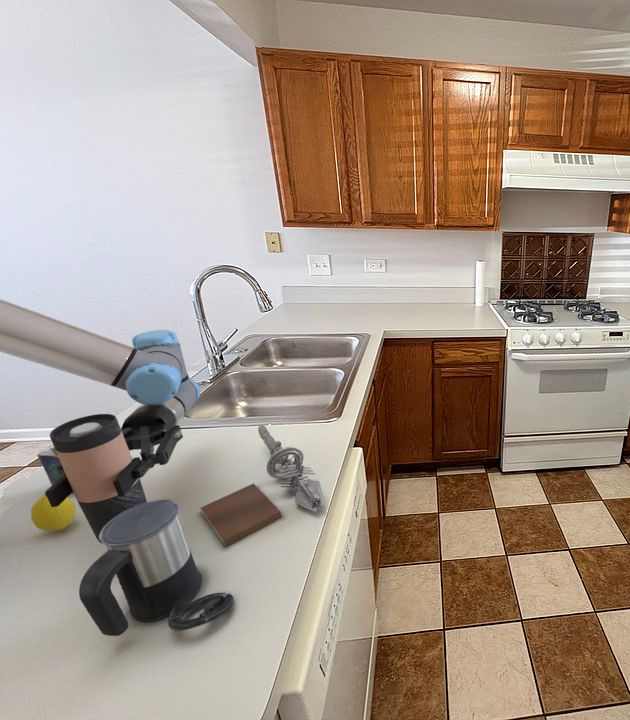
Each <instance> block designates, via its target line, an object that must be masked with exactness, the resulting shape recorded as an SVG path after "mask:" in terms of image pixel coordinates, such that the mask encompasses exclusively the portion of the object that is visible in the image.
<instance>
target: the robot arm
mask: <svg viewBox="0 0 630 720" xmlns="http://www.w3.org/2000/svg"><path fill="white" fill-rule="evenodd" d="M131 343H132V346H131V345H127V344H125V343H123V342H119V341H117V340H114V339H111V338H110V337H109V338H108V337H106V336H104V335H100V334H97V333H95V332H92V331H89V330H86V329H84V328H81V327H78V326H76V325H73V324H71V323H68V322H65V321H62V320H59V319H57V318H53V317H51V316H48V315H46V314H43V313H40V312H38V311H36V310H35V311H34V310H32V309H29V308H26V307H24V306H21V305H18V304H16V303H14V302H10V301H7V300H4V299H2V298H0V353H3V354H6V355H9V356H13V357H15V358H19V359H23V360H25V361H29V362H32V363H35V364H39V365H42V366H45V367H49V368H52V369H55V370H59V371H61V372H64V373H68V374H72V375H75V376H78V377H82V378H84V379H88V380H91V381H94V382H97V383H101V384H104V385H108V386H111V387H114V388H117V389H120V390H123V391H126V393H127V394H128V396H129V397H130V398H131V399H132V400H133V401H135V402H137V403H139V404H140V405H139V406H137V408H136V409H134V411H132V412H131V413H130V414H129V415H128V416H127V417H126V418H125V419H124V421H123V423H122V425H121V427H120V428H121V431H122V433H123V436H124V439H125V441H126V444H127V446H128V449H129V452H131V451H135V450H140V452H139V455H140V456H136V457H132V459H133V460H132V461H131V462H130V463H129V464H128V465H127V466H126V467H125V469H124V470H123V471H122V472H121V473H120V474H119V475H118V477H117V478H116V479H115V480H114V481H113V484H114V486H115V489H116V491H117V494H118V496H124V495H125V494H126V493H127V492H128V490H129V489H130V488H131V487H132V485H133V484H134V483H135V482H136V480H137V479H138V478H140V479H141V478H143V477H144V476H145V475H146V474H147V473H148V471H149V470H150V469H152V468H154V467H155V465H158V464H159V466H165V465H166V464H168V463H169V461H170V459H171V457H172V455H173V452H174V451H175V448H176V447H177V443H179V442H180V441H181V440H182V439H183V438H184V436H183V432H182V429H181V426H180V425H179V424H180V423H181V422H182V420H183V419H184V418H185V417H186V416H187V414H188V413H189V412H190V411H191V410H192V409H193V408H194V407H195V406H196V404H197V402H198V400H199V398H200V397H201V388H200V386H199V384H198V383H197V382H196V381H195V380H194V379H192V378H190V376H189V374H188V371H187V366H186V364H185V360H184V356H183V352H182V348H181V346H182V345H181V343H180V341H179V338H178V336H177V334H176V332H175V331H173V330H170V329H157V330H150V331H149V330H148V331H144V332H141V333H138V334H136V335H134V336H133V337H132V338H131ZM155 446H157V448H156V450H155ZM55 467H56V469H57V472H58V474H59V477H58V478H57V479H56V480H55V481H54V484H53V485H51V486H50V487H49V488H48V489H46V491H44V495H46V496H47V498H48V500H49V503H50V505H51V507H57V506H59V505H60V504H61V503H62V502H63V501H64V500H65V499H66V498H67V497H69V496H70V495H71V494H73V493H74V492H73V490H72V487H71V485H70V483H69V480H68V478H67V476H66V473H65V471H64V469H63V466H62V464H61V462H60V463H59V464H57V465H56V466H55Z"/></svg>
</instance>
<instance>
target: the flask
mask: <svg viewBox="0 0 630 720" xmlns="http://www.w3.org/2000/svg"><path fill="white" fill-rule="evenodd" d="M36 456H37V457H38V459H39V461H40V464H41V466H42V468H43V469H44V473H46V476H47V478H48V480H49V484H50V485H51V486H52V485H53V484H54V481H55V480H56V479H57V478H58V477H59V474H58V472H57V469H56V467H55V466H56V465H57V464H59V463H60V459H59V457H58V455H57V452H56V450H55V448H54V446H52V447H49V449H45V450H42V451H40V452H39V453H38V454H37V455H36Z"/></svg>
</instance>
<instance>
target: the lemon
mask: <svg viewBox="0 0 630 720" xmlns="http://www.w3.org/2000/svg"><path fill="white" fill-rule="evenodd" d="M76 513H77V509H76V505H75V503H74V502H73V500H72V499H71V498H70V497H69V496H68V497H67V498H66V499H65V500H64V501H63V502H62V503H61V504H60V505H59V506H57V507H51V505H50V503H49V500H48V498H47V496H46V494H44V495H43V496H42V497H40V498H39V499H38V500H36V501H35V502H34V504H33V505H32V506H31V510H30V516H31V521H32V523H33V525H35V527H37V528H38V529H39V530H42V531H44V532H55V531H63V530H64V529H65V528H66V527H67V526H68V525H69V524H71V523H72V522H73V521H74V518H75V517H76Z"/></svg>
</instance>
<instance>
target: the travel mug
mask: <svg viewBox="0 0 630 720" xmlns="http://www.w3.org/2000/svg"><path fill="white" fill-rule="evenodd" d="M121 428H122V427H121V426H120V423H119V421H118V418H117V417H116V415H114V414H111V413H97V414H91V415H85V416H82V417H79V418H75V419H72V420H69V421H67V422H64V423H62V424H60V425H58V426H56V427H55V428H53V429H52V430H51V431H50V433H49V438H50V441H51V443H52V445H53V447H54V448H55V450H56V452H57V455H58V457H59V459H60V462H61V464H62V466H63V469H64V471H65V473H66V476H67V478H68V480H69V483H70V485H71V487H72V490H73V492H72V493H73V494H74V497H75V499H76V501H77V503H78V505H79V507H80V509H81V511H82V513H83V515H84V517H85V519H86V521H87V522H88V525H89V527H90V528H91V531H92V533H93V534H94V536H95V538H96V540H97V541H98V542H99V543H100V544H102V545H104V544H103V543H102V542H101V541H100V540H99V535H100V532H101V530H102V529H103V527H104V526H105V525H106V524H107V523H108V522H109V521H110V520H112V519H113V518H114V517H116V516H118V515H119V514H121V513H122V512H124V511H126V510H128V509H130V508H132V507H134V506H137V505H140V504H143V503H146V502H148V501H147V500H148V499H147V498H146V494H145V491H144V487H143V485H142V482H141V481H142V480H141V478H138V479H137V480H136V482H135V483H134V484H133V485H132V487H131V488H130V489H129V490H128V492H127V493H126V494H125V495H124V496H118V494H117V491H116V489H115V486H114V484H113V481H114V480H115V479H116V478H117V477H118V475H119V474H120V473H121V472H122V471H123V470H124V469H125V467H126V466H127V465H128V464H129V463H130V462H131V461H132V460H133V457H132V454H131V451H129V449H128V446H127V444H126V441H125V439H124V436H123V433H122V431H121Z"/></svg>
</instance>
